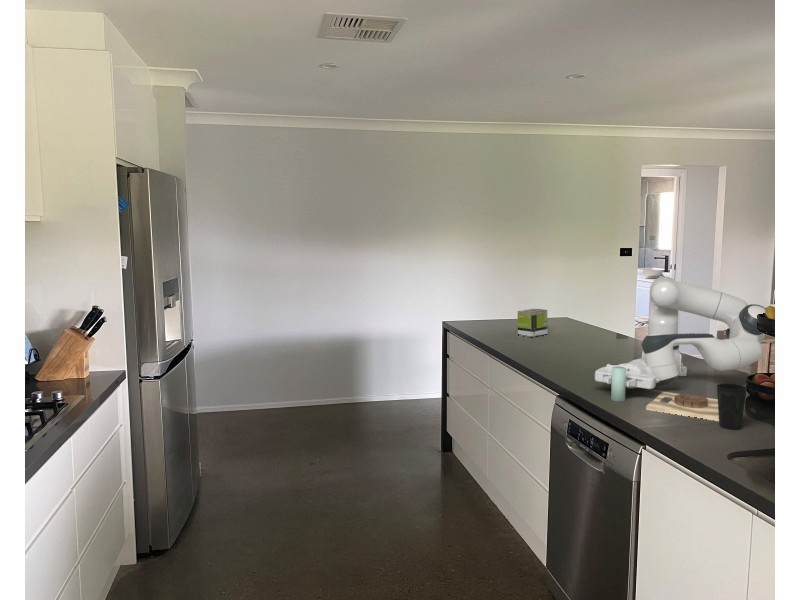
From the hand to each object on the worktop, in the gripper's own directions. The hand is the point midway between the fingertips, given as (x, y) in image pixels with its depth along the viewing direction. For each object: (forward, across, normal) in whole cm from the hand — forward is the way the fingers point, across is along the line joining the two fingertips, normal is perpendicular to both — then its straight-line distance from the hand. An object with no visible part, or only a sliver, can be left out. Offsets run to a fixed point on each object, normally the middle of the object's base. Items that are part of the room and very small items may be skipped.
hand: (617, 382), depth 202 cm
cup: (+8, -36, -6) cm, 37 cm away
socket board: (-6, -22, -6) cm, 23 cm away
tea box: (-104, +84, -6) cm, 134 cm away
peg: (-1, 0, -6) cm, 6 cm away
